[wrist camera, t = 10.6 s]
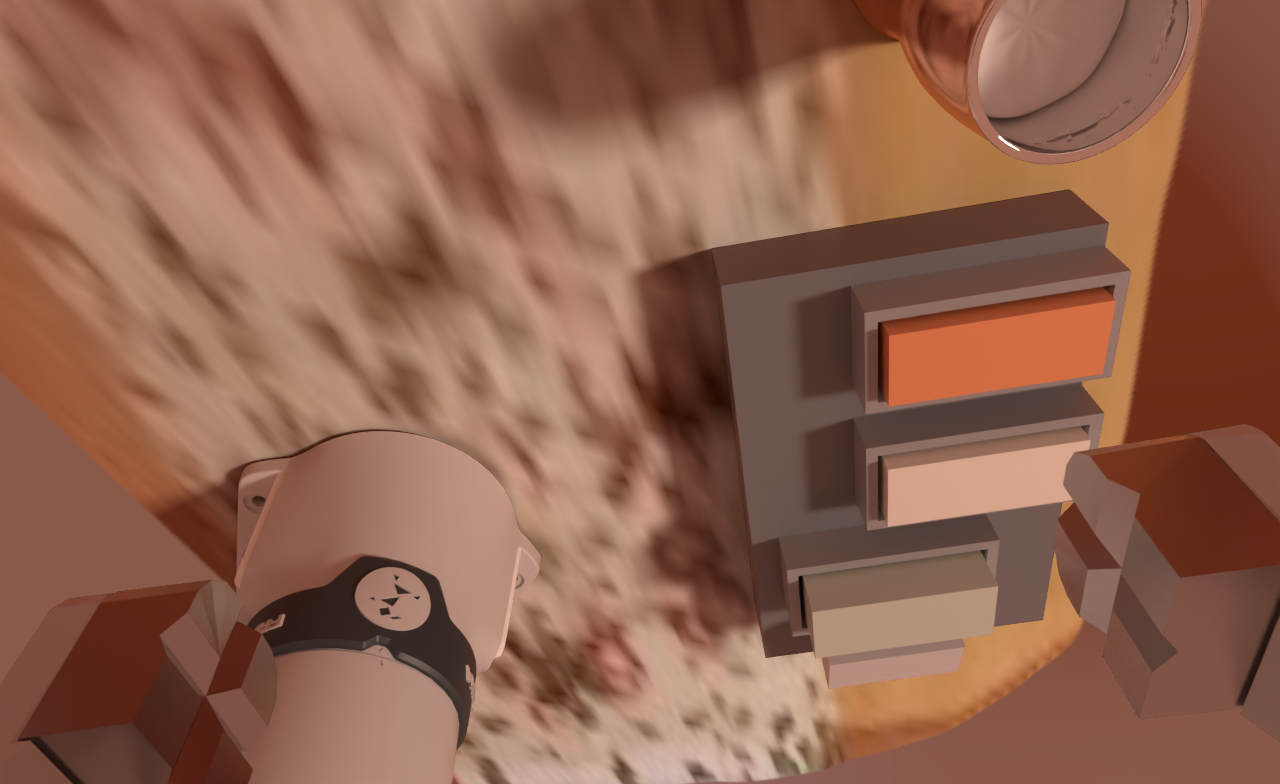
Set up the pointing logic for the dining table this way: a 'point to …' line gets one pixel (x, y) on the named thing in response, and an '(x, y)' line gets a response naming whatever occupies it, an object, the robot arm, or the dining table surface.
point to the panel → (854, 404)
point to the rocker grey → (893, 663)
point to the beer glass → (1045, 66)
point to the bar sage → (900, 604)
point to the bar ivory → (977, 476)
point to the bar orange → (994, 346)
